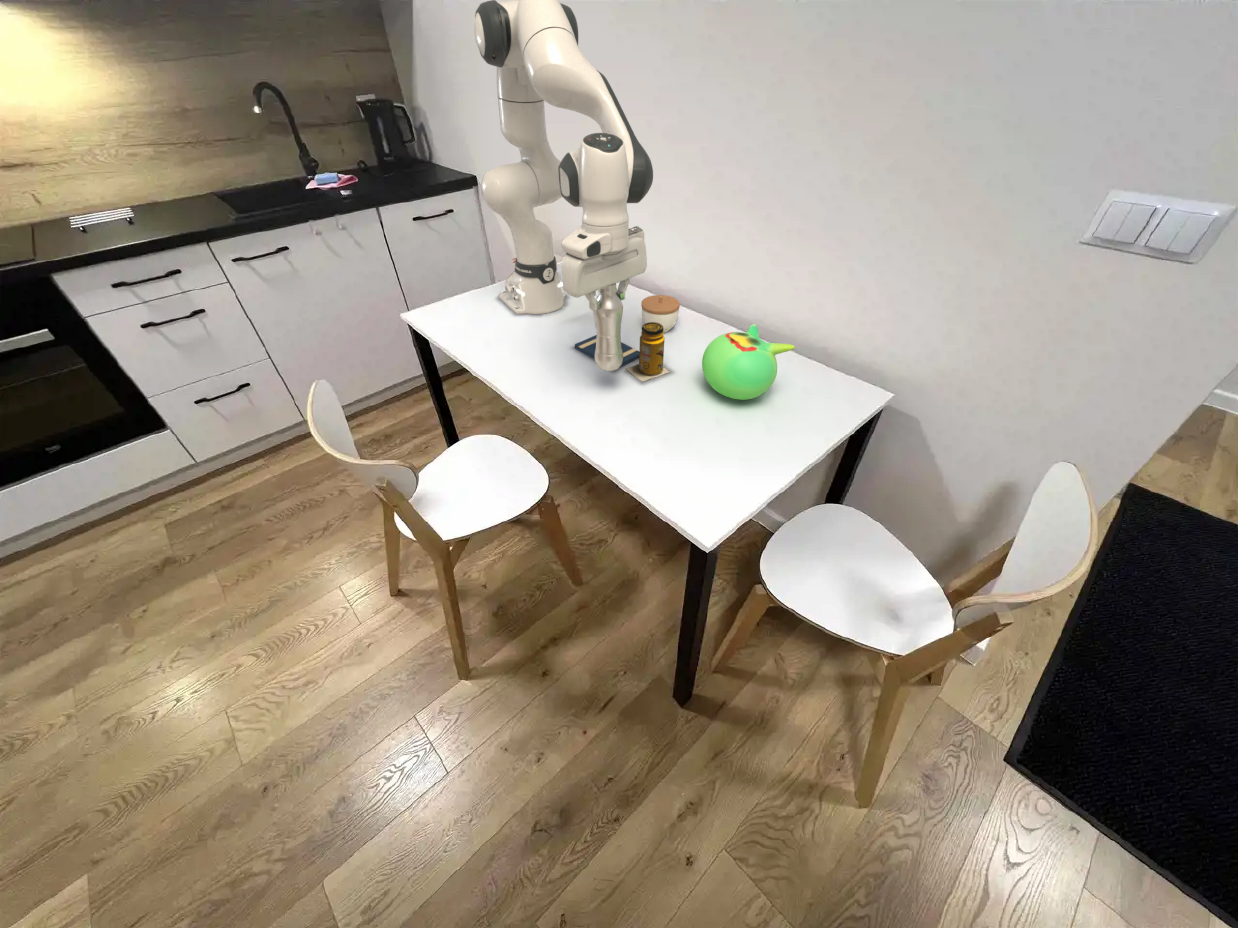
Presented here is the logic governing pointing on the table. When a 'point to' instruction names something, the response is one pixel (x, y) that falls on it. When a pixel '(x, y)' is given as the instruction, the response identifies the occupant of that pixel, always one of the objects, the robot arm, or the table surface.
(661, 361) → the condiment
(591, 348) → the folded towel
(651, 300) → the trinket box
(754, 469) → the table surface
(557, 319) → the table surface
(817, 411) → the table surface
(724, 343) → the toy bird
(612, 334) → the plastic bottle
